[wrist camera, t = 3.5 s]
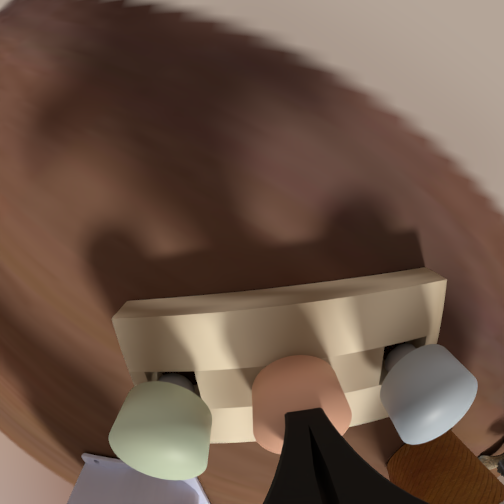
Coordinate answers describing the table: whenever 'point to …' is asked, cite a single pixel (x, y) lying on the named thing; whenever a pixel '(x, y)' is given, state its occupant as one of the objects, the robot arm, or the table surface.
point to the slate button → (425, 391)
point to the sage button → (163, 429)
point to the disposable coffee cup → (444, 473)
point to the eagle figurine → (493, 462)
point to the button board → (281, 338)
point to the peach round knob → (295, 397)
